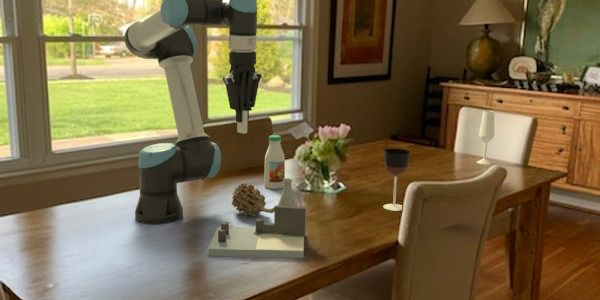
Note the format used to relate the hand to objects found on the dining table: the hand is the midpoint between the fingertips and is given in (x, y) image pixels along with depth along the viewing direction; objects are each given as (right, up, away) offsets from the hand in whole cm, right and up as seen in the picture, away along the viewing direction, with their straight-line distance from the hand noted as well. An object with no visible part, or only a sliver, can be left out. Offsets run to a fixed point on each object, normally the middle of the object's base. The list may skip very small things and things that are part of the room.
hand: (242, 132), depth 173 cm
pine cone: (+2, -27, +22) cm, 35 cm away
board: (+5, -32, -1) cm, 33 cm away
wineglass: (+49, -25, +35) cm, 66 cm away
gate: (+11, -29, +1) cm, 31 cm away
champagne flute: (+102, -11, +103) cm, 145 cm away
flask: (+12, -25, +33) cm, 43 cm away
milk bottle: (+7, -19, +58) cm, 61 cm away
